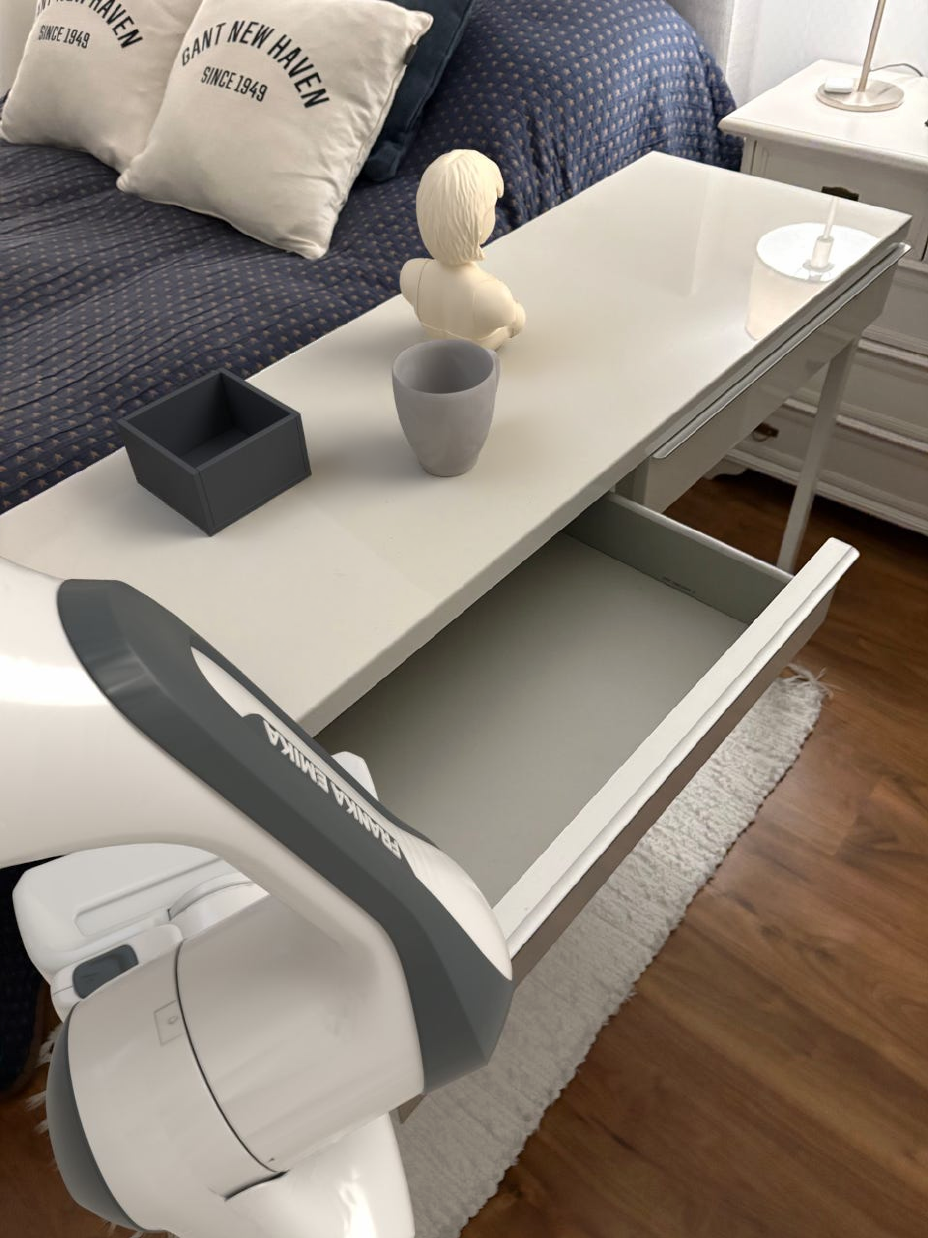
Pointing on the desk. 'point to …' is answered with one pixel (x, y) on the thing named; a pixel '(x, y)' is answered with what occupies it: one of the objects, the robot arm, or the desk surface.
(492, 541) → the desk surface
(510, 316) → the figurine
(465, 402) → the mug
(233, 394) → the open box
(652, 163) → the desk surface
